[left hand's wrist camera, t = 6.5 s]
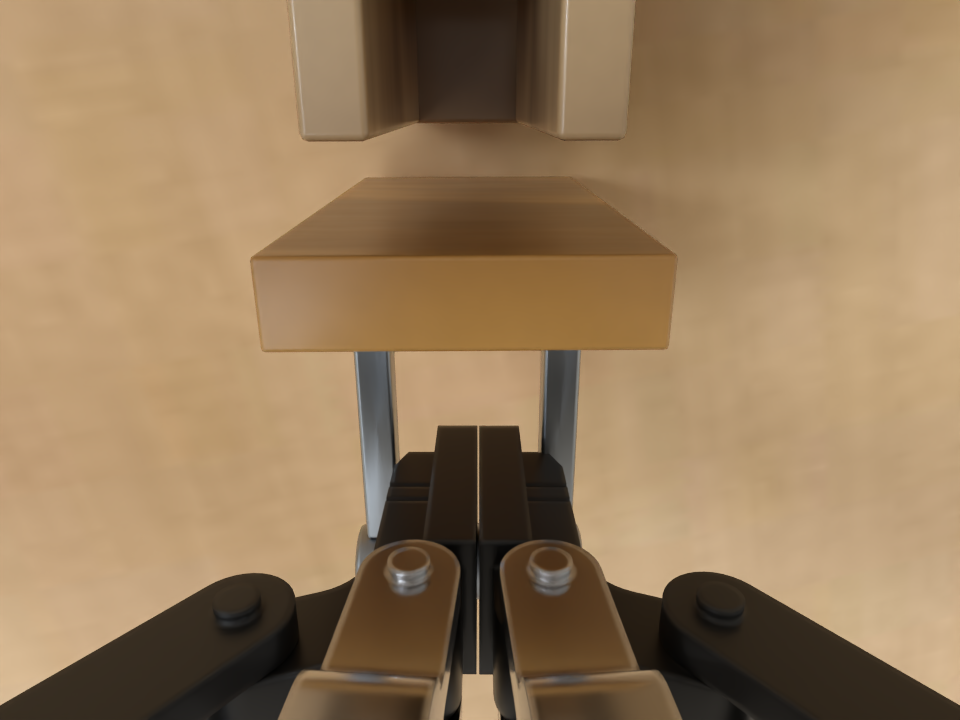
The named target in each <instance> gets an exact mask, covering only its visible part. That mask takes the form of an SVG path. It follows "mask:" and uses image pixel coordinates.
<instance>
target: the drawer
mask: <svg viewBox="0 0 960 720" xmlns="http://www.w3.org/2000/svg"><path fill="white" fill-rule="evenodd" d="M635 6H636V0H287V7H288V18H289V28H290V39H291V50H292V61H293V72H294V82H295V93H296V104H297V115H298V126H299V133H300V135H301V137H302V139H304V140H306V141H364V140H367V139H370V138H373V137H376V136H379V135H382V134H385V133H388V132H391V131H394V130H397V129H400V128H403V127H406V126H409V125H412V124H415V123H521V124H524V125H526V126H529V127H531V128H534V129H536V130H539V131H541V132H544V133H546V134H549V135H551V136H554V137H556V138H559V139H562V140H620V139H622V138H624V136H625V134H626V132H627V120H628V106H629V91H630V77H631V63H632V48H633V34H634V20H635ZM250 263H251V271H252V279H253V287H254V295H255V303H256V311H257V319H258V327H259V335H260V343H261V349H262V351H264V352H354V361H355V375H356V388H357V402H358V416H359V429H360V443H361V456H362V470H363V484H364V497H365V511H366V524H365V525H363V526H362V528H361V530H360V533H359V536H358V541H357V548H356V562H355V577H356V574H357V572H358V569H359V567H360V565H361V563H362V561H363V560H364V559H365V558H366V557H367V556H368V555H369V554H370V553H371V552H373V551H374V547H375V543H376V539H377V535H378V531H379V526H380V522H381V518H382V514H383V510H384V505H385V501H386V497H387V493H388V489H389V487H390V480H391V476H392V472H393V468H394V466H395V465H396V464H397V463H398V462H399V461H400V455H399V436H398V416H397V397H396V377H395V357H394V351H528V350H541V373H540V406H539V438H538V452H542V453H545V454H550V455H551V456H552V457H553V458H554V459H555V460H556V461H557V462H558V463H559V464H560V465H561V466H562V467H563V470H564V475H565V479H566V483H567V488H568V492H569V497H570V501H571V505H572V508H573V490H574V471H575V452H576V433H577V414H578V395H579V376H580V357H581V350H664V349H667V348H668V345H669V338H670V328H671V318H672V308H673V298H674V288H675V279H676V269H677V256H676V254H674V253H673V252H672V251H670V250H669V249H667V248H666V247H665V246H663V245H662V244H661V243H659V242H658V241H657V240H655V239H654V238H653V237H651V236H650V235H649V234H647V233H646V232H644V231H643V230H642V229H640V228H639V227H638V226H636V225H635V224H634V223H632V222H631V221H630V220H628V219H627V218H626V217H624V216H623V215H622V214H620V213H619V212H617V211H616V210H615V209H613V208H612V207H611V206H609V205H608V204H607V203H605V202H604V201H603V200H601V199H600V198H599V197H597V196H596V195H595V194H593V193H592V192H590V191H589V190H588V189H586V188H585V187H584V186H582V185H581V184H580V183H578V182H577V181H576V180H574V179H573V178H571V177H422V178H365V179H363V180H362V181H361V182H359V183H358V184H356V185H355V186H353V187H352V188H350V189H349V190H348V191H346V192H345V193H343V194H342V195H340V196H339V197H337V198H336V199H335V200H333V201H332V202H330V203H329V204H327V205H326V206H324V207H323V208H322V209H320V210H319V211H317V212H316V213H314V214H313V215H312V216H310V217H309V218H307V219H306V220H304V221H303V222H301V223H300V224H299V225H297V226H296V227H294V228H293V229H291V230H290V231H288V232H287V233H286V234H284V235H283V236H281V237H280V238H278V239H277V240H275V241H274V242H273V243H271V244H270V245H268V246H267V247H265V248H264V249H263V250H261V251H260V252H258V253H257V254H255V255H254V256H252V257H251V260H250ZM576 527H577V532H578V536H579V540H580V545H581V548H582V542H581V536H580V532H579V529H578V526H577V524H576ZM477 599H479V523H477Z"/></svg>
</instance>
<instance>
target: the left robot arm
mask: <svg viewBox="0 0 960 720" xmlns="http://www.w3.org/2000/svg"><path fill="white" fill-rule="evenodd" d="M476 651H477V426H438V430H437V437H436V445H435V452H408V453H407V454H406V455H405V456H404V457H403V458H402V459H401V460H400V461H399V462H398V463H397V464H396V465H395V466H394V468H393V472H392V476H391V480H390V487H389V489H388V493H387V497H386V501H385V505H384V510H383V514H382V518H381V522H380V526H379V531H378V535H377V539H376V543H375V547H374V551H373V552H371V553H370V554H369V555H368V556H367V557H366V558H365V559H364V560H363V561H362V563H361V565H360V567H359V569H358V572H357V574H356V577H354V578H353V579H351V580H350V581H348V582H346V583H344V584H342V585H340V586H338V587H335V588H332V589H329V590H326V591H322V592H318V593H314V594H309V595H305V596H300V597H296V598H295V595H294V592H293V589H292V588H291V587H290V585H289V584H288V583H287V582H285V581H284V580H282V579H280V578H278V577H276V576H273V575H268V574H262V573H250V574H241V575H235V576H232V577H228V578H225V579H222V580H220V581H217V582H215V583H213V584H211V585H209V586H207V587H205V588H204V589H202V590H200V591H198V592H197V593H195V594H193V595H191V596H190V597H188V598H186V599H185V600H183V601H181V602H179V603H178V604H176V605H174V606H172V607H171V608H169V609H167V610H165V611H164V612H162V613H160V614H158V615H157V616H155V617H153V618H151V619H150V620H148V621H146V622H145V623H143V624H141V625H139V626H138V627H136V628H134V629H132V630H131V631H129V632H127V633H125V634H124V635H122V636H120V637H118V638H117V639H115V640H113V641H111V642H110V643H108V644H106V645H105V646H103V647H101V648H99V649H98V650H96V651H94V652H92V653H91V654H89V655H87V656H85V657H84V658H82V659H80V660H78V661H77V662H75V663H73V664H71V665H70V666H68V667H66V668H65V669H63V670H61V671H59V672H58V673H56V674H54V675H52V676H51V677H49V678H47V679H45V680H44V681H42V682H40V683H38V684H37V685H35V686H33V687H31V688H30V689H28V690H26V691H25V692H23V693H21V694H19V695H18V696H16V697H14V698H12V699H11V700H9V701H7V702H5V703H4V704H2V705H0V720H462V674H476ZM479 674H493V694H494V701H495V704H496V706H497V708H498V720H960V705H958V704H956V703H955V702H953V701H951V700H949V699H948V698H946V697H944V696H942V695H941V694H939V693H937V692H936V691H934V690H932V689H930V688H929V687H927V686H925V685H923V684H922V683H920V682H918V681H916V680H915V679H913V678H911V677H909V676H908V675H906V674H904V673H902V672H901V671H899V670H897V669H896V668H894V667H892V666H890V665H889V664H887V663H885V662H883V661H882V660H880V659H878V658H876V657H875V656H873V655H871V654H869V653H868V652H866V651H864V650H862V649H861V648H859V647H857V646H856V645H854V644H852V643H850V642H849V641H847V640H845V639H843V638H842V637H840V636H838V635H836V634H835V633H833V632H831V631H829V630H828V629H826V628H824V627H823V626H821V625H819V624H817V623H816V622H814V621H812V620H810V619H809V618H807V617H805V616H803V615H802V614H800V613H798V612H796V611H795V610H793V609H791V608H789V607H788V606H786V605H784V604H783V603H781V602H779V601H777V600H776V599H774V598H772V597H770V596H769V595H767V594H765V593H763V592H762V591H760V590H758V589H756V588H755V587H753V586H751V585H749V584H747V583H745V582H743V581H742V580H739V579H736V578H734V577H731V576H728V575H724V574H719V573H714V572H693V573H687V574H684V575H680V576H678V577H676V578H674V579H673V580H672V581H670V582H669V583H668V585H667V586H666V587H665V589H664V592H663V597H662V598H658V597H654V596H649V595H645V594H640V593H636V592H632V591H629V590H625V589H622V588H620V587H617V586H615V585H613V584H611V583H609V582H607V581H606V580H605V577H604V574H603V572H602V569H601V567H600V565H599V563H598V561H597V560H596V559H595V558H594V557H593V556H592V555H591V554H590V553H589V552H587V551H586V550H584V549H582V548H581V545H580V540H579V536H578V532H577V527H576V523H575V518H574V514H573V510H572V505H571V501H570V497H569V492H568V488H567V483H566V479H565V475H564V470H563V467H562V466H561V465H560V464H559V463H558V462H557V461H556V460H555V459H554V458H553V457H552V456H551V455H550V454H545V453H542V452H522V450H521V442H520V433H519V426H479Z"/></svg>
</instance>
